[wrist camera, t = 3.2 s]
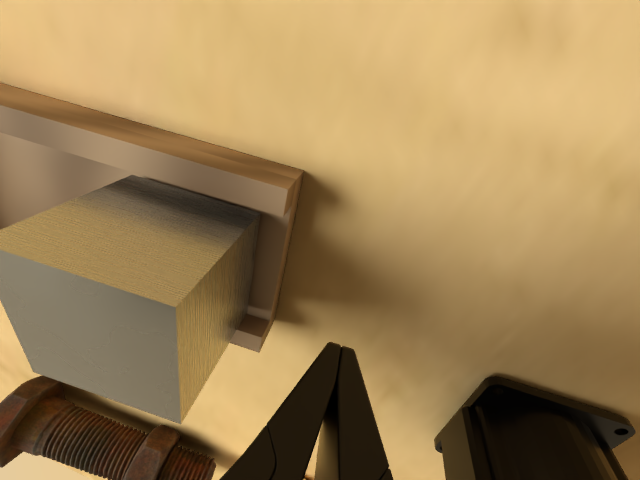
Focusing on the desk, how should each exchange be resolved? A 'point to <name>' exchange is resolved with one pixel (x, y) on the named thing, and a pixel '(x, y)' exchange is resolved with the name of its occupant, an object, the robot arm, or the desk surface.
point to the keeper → (130, 290)
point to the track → (147, 162)
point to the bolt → (91, 438)
